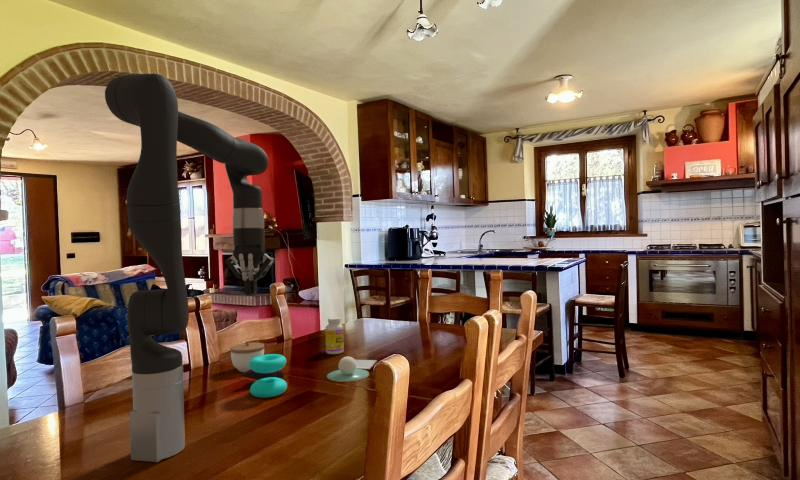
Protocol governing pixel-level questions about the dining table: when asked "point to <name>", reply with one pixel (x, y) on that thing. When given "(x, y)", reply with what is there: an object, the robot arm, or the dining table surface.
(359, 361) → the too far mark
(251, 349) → the lidded jar
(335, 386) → the dining table surface
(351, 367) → the ball
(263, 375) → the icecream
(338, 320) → the supplement bottle
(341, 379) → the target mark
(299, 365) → the dining table surface
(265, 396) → the donuts
